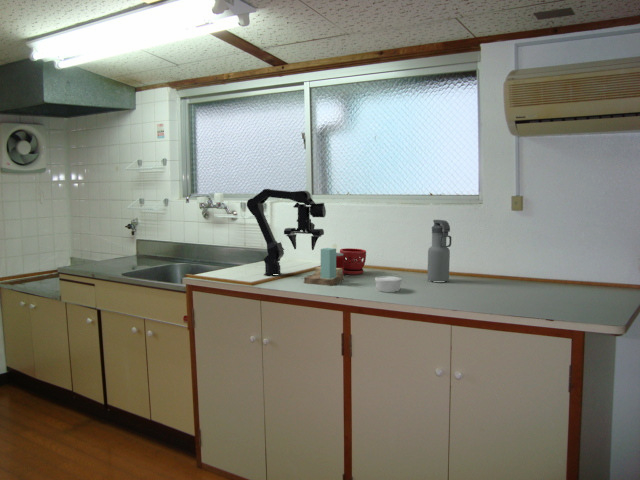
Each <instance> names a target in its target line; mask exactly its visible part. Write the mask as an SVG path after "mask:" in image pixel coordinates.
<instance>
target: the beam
mask: <svg viewBox="0 0 640 480" xmlns="http://www.w3.org/2000/svg"><path fill="white" fill-rule="evenodd" d="M314 273H315V274H319V275H321V266H316V267H315V268H314ZM340 275H342V268H336V276H340Z"/></svg>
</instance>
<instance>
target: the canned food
mask: <svg viewBox="0 0 640 480" xmlns="http://www.w3.org/2000/svg"><path fill="white" fill-rule="evenodd" d="M336 268H342V275H344V274H343V273H344V255H343V253H340V252H336Z"/></svg>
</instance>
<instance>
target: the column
mask: <svg viewBox="0 0 640 480" xmlns="http://www.w3.org/2000/svg"><path fill="white" fill-rule="evenodd" d="M336 253H337V248H334V247H324V248H320V267H321V278H327V279H331V278H335V277H336Z"/></svg>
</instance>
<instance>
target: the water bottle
mask: <svg viewBox="0 0 640 480" xmlns="http://www.w3.org/2000/svg"><path fill="white" fill-rule="evenodd" d="M432 221H433V226H431V246H430V247H428V249H427V278H426V279H427V281H428V280H430V281H448V280H449V281H450V254H451V253H450V249H449V248H450V247H451V246H452V236H451V235H449V232H451V227H450V224H449V222H448V221H447V220H445V219H433V220H432ZM447 238H448V239H449V244H448V245H447ZM430 281H429V282H430ZM449 281H448V282H449Z"/></svg>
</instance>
